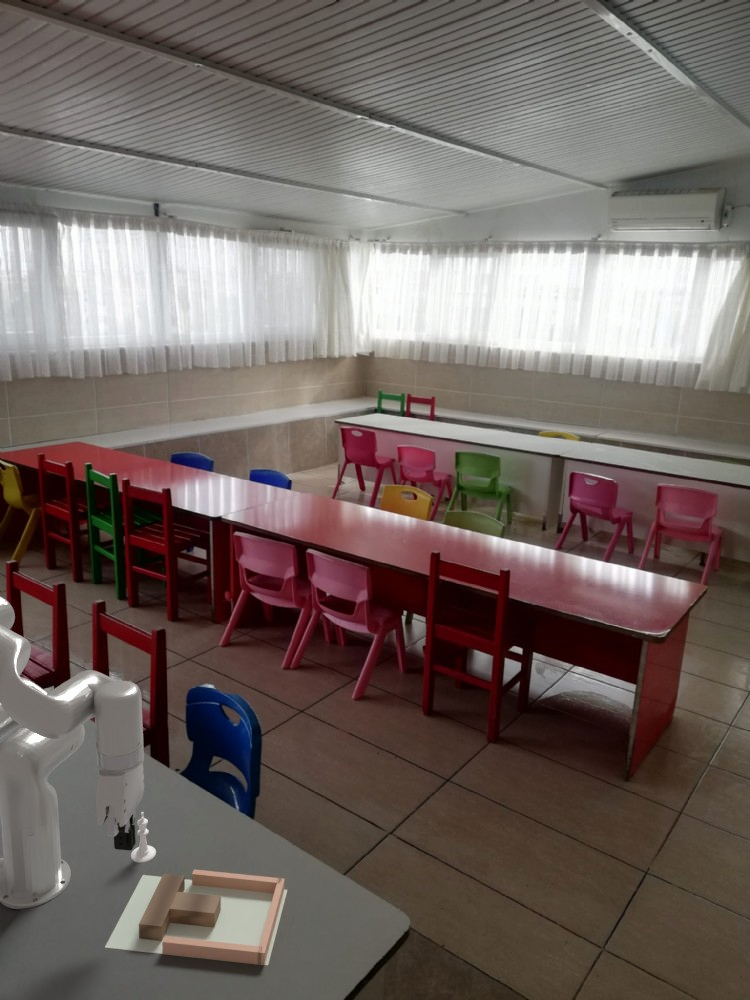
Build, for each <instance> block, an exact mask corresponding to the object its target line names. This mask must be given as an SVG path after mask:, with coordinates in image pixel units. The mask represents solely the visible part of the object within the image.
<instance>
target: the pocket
mask: <svg viewBox="0 0 750 1000" xmlns="http://www.w3.org/2000/svg"><path fill="white" fill-rule="evenodd" d="M285 879H286V878H281V877H271V876H263V875H253V874H252V875H251V874H243V873H233V872H232V873H231V872H225V871H223V872H222V871H213V870H202V869H193V871H192V873H191V880H192V885H199V886H209V887H218V888H228V889H238V890H247V891H257V892H267V893H274V896H273V899H272V903H271V906H270V910H269V913H268V917H267V921H266V924H265V928H264V931H263V935H262V939H261V942H260V946H251V945H242V944H232V943H223V942H214V941H205V940H195V939H186V938H177V937H168V936H165V937H164V939H163V942H162V951H163V954H162V955H167V954H169V955H170V956H176V955H178V957H185V956H188V957H187V958H194V957H197V958H196V959H204V958H206V960H213V959H215V960H214V961H222V960H224V961H223V962H231V961H233V962H232V963H240V962H242V963H241V964H249V963H251V964H252V965H258V964H261V965H260V966H266V965H265V961H266V958H267V954H268V950H269V946H270V942H271V938H272V935H273V931H274V927H275V923H276V919H277V916H278V912H279V908H280V904H281V900H282V897H283V893H284V889H285V884H286V883H285V881H286V880H285ZM169 955H168V956H169ZM251 964H250V965H251Z"/></svg>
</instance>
